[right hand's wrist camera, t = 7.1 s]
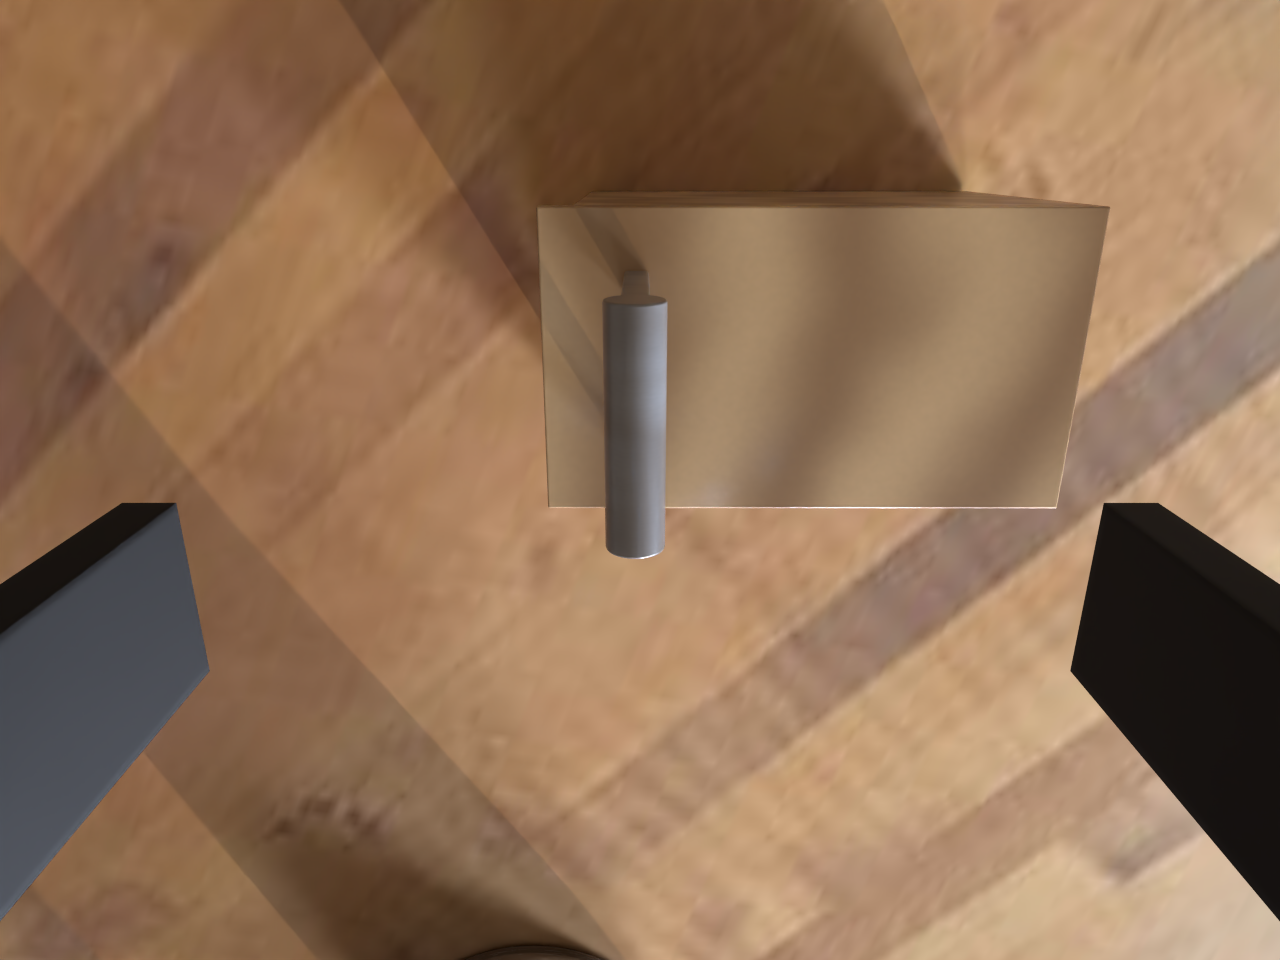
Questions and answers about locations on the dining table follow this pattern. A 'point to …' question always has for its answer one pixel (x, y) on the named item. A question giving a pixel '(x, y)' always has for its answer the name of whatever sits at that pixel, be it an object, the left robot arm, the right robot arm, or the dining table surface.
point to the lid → (810, 356)
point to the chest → (807, 198)
